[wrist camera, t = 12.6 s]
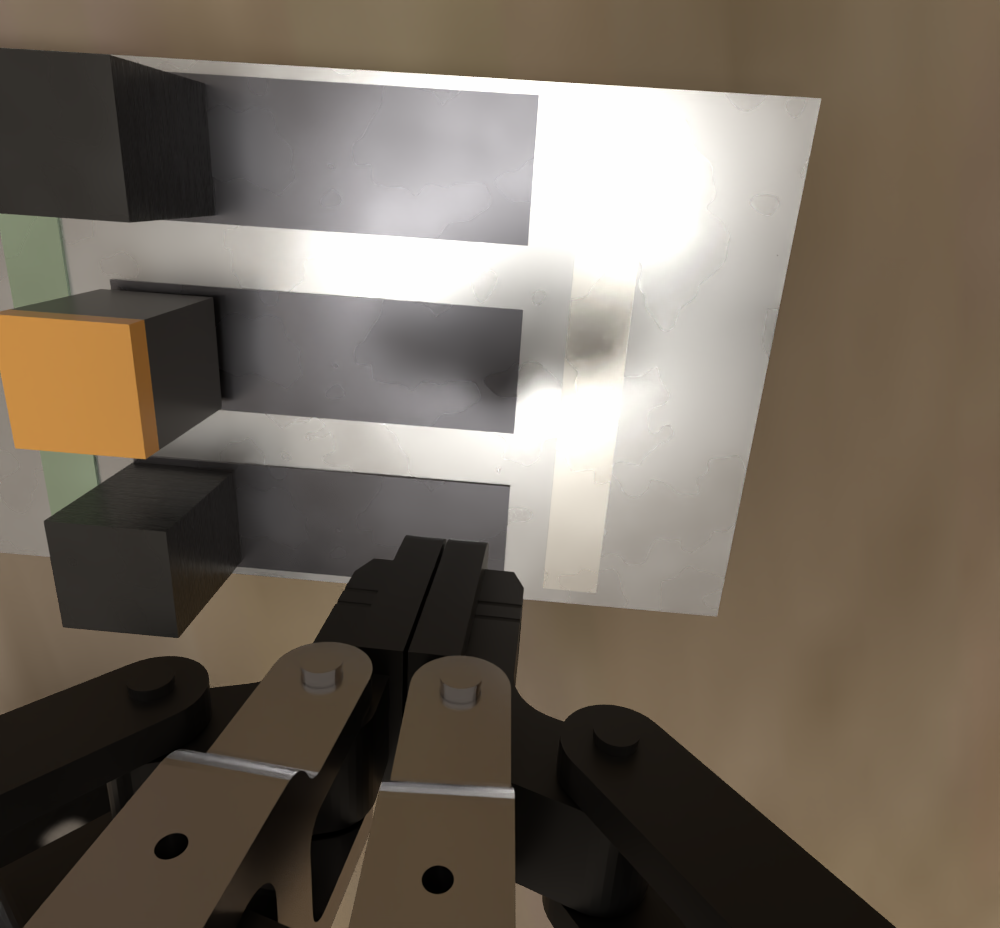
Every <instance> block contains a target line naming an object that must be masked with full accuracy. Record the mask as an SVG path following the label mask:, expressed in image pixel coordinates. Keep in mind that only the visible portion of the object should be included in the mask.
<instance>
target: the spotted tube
mask: <svg viewBox="0 0 1000 928" xmlns="http://www.w3.org/2000/svg"><path fill="white" fill-rule="evenodd" d="M110 811H111V807H110V801H109V795H108V789H107V783H106V784H104V785H102V786H100V787H98V788H96V789H94V790H92V791H90V792H88V793H86V794H84V795H82V796H80V797H78V798H76V799H74V800H72V801H70V802H68V803H66V804H64V805H62V806H60V807H58V808H56V809H54V810H52V811H49V812H47V813H45V814H43V815H41V816H39V817H37V818H35V819H33V820H31V821H29V822H27V823H25V824H23V825H21V826H19V827H17V828H15V829H13V830H11V831H10V832H8V833H6V834H5V835H4V836H2V837H1V838H0V868H2V867H4V866H6V865H8V864H10V863H12V862H14V861H16V860H18V859H20V858H22V857H23V856H25V855H27V854H29V853H31V852H33V851H35V850H37V849H39V848H41V847H43V846H45V845H47V844H48V843H50V842H52V841H54V840H56V839H58V838H60V837H62V836H64V835H66V834H68V833H70V832H72V831H73V830H75V829H77V828H79V827H81V826H83V825H85V824H87V823H89V822H91V821H93V820H95V819H96V818H98V817H100V816H102V815H104V814H106V813H108V812H110Z"/></svg>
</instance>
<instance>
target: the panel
mask: <svg viewBox="0 0 1000 928" xmlns="http://www.w3.org/2000/svg"><path fill="white" fill-rule="evenodd" d="M820 102H821V98H806V97H790V96H774V95H758V94H741V93H725V92H709V91H693V90H676V89H660V88H644V87H628V86H611V85H595V84H579V83H563V82H547V81H530V80H514V79H498V78H482V77H465V76H449V75H433V74H417V73H401V72H384V71H368V70H352V69H336V68H319V67H303V66H287V65H271V64H255V63H238V62H222V61H206V60H190V59H173V58H157V57H141V56H125V55H108V54H92V53H76V52H60V51H44V50H27V49H11V48H0V311H5V310H9V309H13V308H18V307H22V306H27V305H31V304H36V303H40V302H45V301H49V300H53V299H58V298H62V297H67V296H71V295H76V294H80V293H84V292H89V291H93V290H98V289H109V290H122V291H135V292H149V293H162V294H176V295H189V296H203V297H213V302H214V315H215V327H216V339H217V352H218V364H219V377H220V389H221V401H222V408H221V409H220V410H218V411H217V412H215V413H214V414H212V415H211V416H209V417H208V418H206V419H205V420H203V421H202V422H200V423H199V424H198V425H196V426H195V427H193V428H192V429H190V430H189V431H187V432H186V433H184V434H183V435H181V436H180V437H178V438H177V439H175V440H174V441H172V442H171V443H169V444H168V445H166V446H165V447H163V448H162V449H160V450H159V451H157V452H156V453H154V454H153V455H151V456H150V457H148V458H147V459H136V458H124V457H112V456H100V455H89V454H77V453H65V452H53V451H41V450H29V449H17V448H15V445H14V440H13V435H12V430H11V424H10V419H9V414H8V409H7V404H6V399H5V393H4V388H3V383H2V378H1V373H0V552H2V553H13V554H24V555H35V556H46V557H50V559H51V565H52V570H53V575H54V581H55V586H56V592H57V597H58V602H59V608H60V613H61V618H62V624H63V627H66V628H77V629H87V630H98V631H109V632H119V633H130V634H141V635H152V636H162V637H173V638H179V637H180V635H181V634H182V633H183V632H184V631H185V629H186V628H187V627H188V626H189V625H190V623H191V622H192V621H193V620H194V618H195V617H196V616H197V615H198V614H199V612H200V611H201V610H202V609H203V608H204V606H205V605H206V604H207V603H208V602H209V600H210V599H211V598H212V597H213V595H214V594H215V593H216V592H217V591H218V589H219V588H220V587H221V586H222V585H223V583H224V582H225V581H226V580H227V579H228V577H229V576H230V575H231V574H232V573H236V574H248V575H259V576H270V577H281V578H292V579H303V580H315V581H326V582H337V583H348V582H349V580H350V578H351V577H352V575H353V573H354V571H356V570H357V569H359V568H360V567H362V566H363V565H365V564H366V563H368V562H369V561H371V560H372V559H374V558H375V559H385V560H394V558H395V556H396V554H397V551H398V549H399V547H400V545H401V543H402V541H403V539H404V537H405V536H406V535H414V536H424V537H435V538H445V539H446V540H447V541H448V539H457V540H467V541H478V542H488V545H489V552H488V569H489V570H499V571H510V572H514V573H515V574H516V576H517V578H518V579H519V581H520V582H521V584H522V585H523V587H524V594H523V599H527V600H538V601H549V602H561V603H572V604H583V605H594V606H605V607H616V608H628V609H639V610H650V611H661V612H672V613H684V614H695V615H706V616H717V614H718V609H719V604H720V599H721V594H722V589H723V584H724V579H725V574H726V569H727V564H728V559H729V554H730V549H731V545H732V540H733V535H734V530H735V525H736V520H737V515H738V510H739V505H740V500H741V495H742V490H743V485H744V480H745V475H746V470H747V465H748V460H749V455H750V450H751V445H752V440H753V435H754V430H755V425H756V420H757V415H758V410H759V405H760V400H761V396H762V391H763V386H764V381H765V376H766V371H767V366H768V361H769V356H770V351H771V346H772V341H773V336H774V331H775V326H776V321H777V316H778V311H779V306H780V301H781V296H782V291H783V286H784V281H785V276H786V271H787V266H788V261H789V256H790V251H791V246H792V242H793V237H794V232H795V227H796V222H797V217H798V212H799V207H800V202H801V197H802V192H803V187H804V182H805V177H806V172H807V167H808V162H809V157H810V152H811V147H812V142H813V137H814V132H815V127H816V122H817V117H818V112H819V107H820Z"/></svg>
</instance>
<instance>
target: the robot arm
mask: <svg viewBox="0 0 1000 928" xmlns="http://www.w3.org/2000/svg"><path fill="white" fill-rule="evenodd" d="M488 552H489V545H488V542H478V541H467V540H457V539H448V541H447V540H446V539H445V538H435V537H424V536H414V535H406V536H405V537H404V539H403V541H402V543H401V545H400V547H399V549H398V551H397V554H396V556H395V558H394V560H385V559H375V558H374V559H372V560H371V561H369V562H368V563H366V564H365V565H363V566H362V567H360V568H359V569H357V570H356V571H354V573H353V575H352V577H351V578H350V580H349V582H348V584H347V585H346V587H345V591H343V592H342V594H341V596H340V597H339V599H338V602H337V604H335V606H334V608H333V609H332V611H331V613H330V615H329V616H328V618H327V620H326V622H325V623H324V625H323V627H322V629H321V630H320V632H319V634H318V635H317V637H316V639H315V641H314V642H313V643H312V644H307V645H304V646H301V647H298V648H296V649H293V650H291V651H290V652H288V653H286V654H285V655H283V656H282V657H281V658H279V660H278V661H277V662H276V663H275V664H274V665H273V667H272V668H271V669H270V671H269V672H268V673H267V674H266V676H265V677H264V678H263V680H262V681H261V682H257V683H250V684H242V685H233V686H224V687H215V688H210V685H209V675H208V673H207V670H206V669H205V668H204V666H202V665H201V664H200V663H198V662H196V661H194V660H192V659H188V658H184V657H177V656H165V657H155V658H149V659H145V660H141V661H138V662H135V663H132V664H129V665H127V666H124V667H122V668H119V669H117V670H114V671H112V672H109V673H106V674H104V675H101V676H99V677H96V678H94V679H91V680H89V681H86V682H84V683H81V684H78V685H76V686H73V687H71V688H68V689H66V690H63V691H61V692H58V693H56V694H53V695H51V696H48V697H45V698H43V699H40V700H38V701H35V702H33V703H30V704H28V705H25V706H23V707H20V708H17V709H15V710H12V711H10V712H7V713H5V714H2V715H0V838H1V837H2V836H4V835H5V834H6V833H8V832H10V831H11V830H13V829H15V828H17V827H19V826H21V825H23V824H25V823H27V822H29V821H31V820H33V819H35V818H37V817H39V816H41V815H43V814H45V813H47V812H49V811H52V810H54V809H56V808H58V807H60V806H62V805H64V804H66V803H68V802H70V801H72V800H74V799H76V798H78V797H80V796H82V795H84V794H86V793H88V792H90V791H92V790H94V789H96V788H98V787H100V786H102V785H104V784H106V783H107V789H108V795H109V801H110V807H111V811H110V812H108V813H106V814H104V815H102V816H100V817H98V818H96V819H95V820H93V821H91V822H89V823H87V824H85V825H83V826H81V827H79V828H77V829H75V830H73V831H72V832H70V833H68V834H66V835H64V836H62V837H60V838H58V839H56V840H54V841H52V842H50V843H48V844H47V845H45V846H43V847H41V848H39V849H37V850H35V851H33V852H31V853H29V854H27V855H25V856H23V857H22V858H20V859H18V860H16V861H14V862H12V863H10V864H8V865H6V866H4V867H2V868H0V928H331V926H332V923H333V921H334V919H335V916H336V914H337V911H338V909H339V906H340V904H341V901H342V899H343V897H344V894H345V892H346V889H347V887H348V884H349V882H350V879H351V877H352V875H353V872H354V870H355V867H356V865H357V862H358V860H359V858H360V855H361V853H362V850H363V848H364V845H365V843H366V840H367V838H368V836H369V838H368V843H367V847H366V852H365V856H364V861H363V865H362V870H361V874H360V878H359V883H358V887H357V892H356V896H355V901H354V905H353V910H352V914H351V919H350V923H349V928H516V920H515V883H517V884H520V885H522V886H524V887H526V888H528V889H530V890H533V891H535V892H537V893H539V894H541V895H542V900H543V906H544V910H545V912H546V915H547V917H548V919H549V920H550V922H551V924H552V925H553V927H554V928H896V927H895V926H894V925H892V924H891V923H890V922H889V921H888V920H887V919H885V918H884V917H883V916H882V915H881V914H879V913H878V912H877V911H876V910H875V909H874V908H872V907H871V906H870V905H869V904H868V903H866V902H865V901H864V900H863V899H862V898H861V897H859V896H858V895H857V894H856V893H855V892H854V891H852V890H851V889H850V888H849V887H848V886H846V885H845V884H844V883H843V882H842V881H841V880H839V879H838V878H837V877H836V876H835V875H834V874H832V873H831V872H830V871H829V870H828V869H826V868H825V867H824V866H823V865H822V864H821V863H819V862H818V861H817V860H816V859H815V858H814V857H812V856H811V855H810V854H809V853H808V852H806V851H805V850H804V849H803V848H802V847H801V846H799V845H798V844H797V843H796V842H795V841H794V840H792V839H791V838H790V837H789V836H788V835H786V834H785V833H784V832H783V831H782V830H781V829H779V828H778V827H777V826H776V825H775V824H774V823H772V822H771V821H770V820H769V819H768V818H766V817H765V816H764V815H763V814H762V813H761V812H759V811H758V810H757V809H756V808H755V807H753V806H752V805H751V804H750V803H749V802H748V801H746V800H745V799H744V798H743V797H742V796H741V795H739V794H738V793H737V792H736V791H735V790H733V789H732V788H731V787H730V786H729V785H728V784H726V783H725V782H724V781H723V780H722V779H721V778H719V777H718V776H717V775H716V774H715V773H713V772H712V771H711V770H710V769H709V768H708V767H706V766H705V765H704V764H703V763H702V762H701V761H699V760H698V759H697V758H696V757H695V756H693V755H692V754H691V753H690V752H689V751H688V750H686V749H685V748H684V747H683V746H682V745H681V744H679V743H678V742H677V741H676V740H675V739H673V738H672V737H671V736H670V735H669V734H668V733H666V732H665V731H664V730H663V729H662V728H660V727H659V726H658V725H657V724H656V723H655V722H653V721H652V720H650V719H649V718H648V717H646V716H644V715H642V714H641V713H638V712H636V711H634V710H631V709H628V708H625V707H620V706H615V705H593V706H588V707H585V708H582V709H579V710H577V711H575V712H574V713H572V714H571V715H570V716H568V718H567V719H566V720H565V721H564V722H563V721H560V720H558V719H555V718H552V717H550V716H547V715H545V714H543V713H541V712H539V711H537V710H536V709H534V708H533V707H531V706H530V705H529V704H528V703H526V702H525V701H524V700H523V699H522V697H521V696H520V695H519V693H518V691H517V689H516V687H515V683H516V674H517V665H518V654H519V642H520V630H521V618H522V606H523V594H524V587H523V585H522V584H521V582H520V581H519V579H518V578H517V576H516V574H515V573H514V572H510V571H499V570H489V569H488ZM381 782H382V784H381ZM380 785H381V786H380ZM379 788H380V790H379ZM378 791H379V793H378ZM377 794H378V798H377V802H376V807H375V811H374V816H373V805H374V802H375V800H376V797H377ZM369 833H370V834H369Z"/></svg>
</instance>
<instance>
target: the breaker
mask: <svg viewBox="0 0 1000 928" xmlns="http://www.w3.org/2000/svg"><path fill="white" fill-rule="evenodd" d="M0 373H1V378H2V383H3V388H4V393H5V399H6V404H7V409H8V414H9V419H10V424H11V430H12V435H13V440H14V445H15V448H17V449H29V450H41V451H53V452H65V453H77V454H89V455H100V456H112V457H124V458H136V459H147V458H148V457H150V456H151V455H153V454H154V453H156V452H157V451H159V450H160V449H162V448H163V447H165V446H166V445H168V444H169V443H171V442H172V441H174V440H175V439H177V438H178V437H180V436H181V435H183V434H184V433H186V432H187V431H189V430H190V429H192V428H193V427H195V426H196V425H198V424H199V423H200V422H202V421H203V420H205V419H206V418H208V417H209V416H211V415H212V414H214V413H215V412H217V411H218V410H220V409H221V408H222V401H221V389H220V377H219V364H218V352H217V339H216V327H215V315H214V302H213V297H203V296H189V295H176V294H162V293H149V292H135V291H122V290H109V289H98V290H93V291H89V292H84V293H80V294H76V295H71V296H67V297H62V298H58V299H53V300H49V301H45V302H40V303H36V304H31V305H27V306H22V307H18V308H13V309H9V310H5V311H0Z"/></svg>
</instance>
